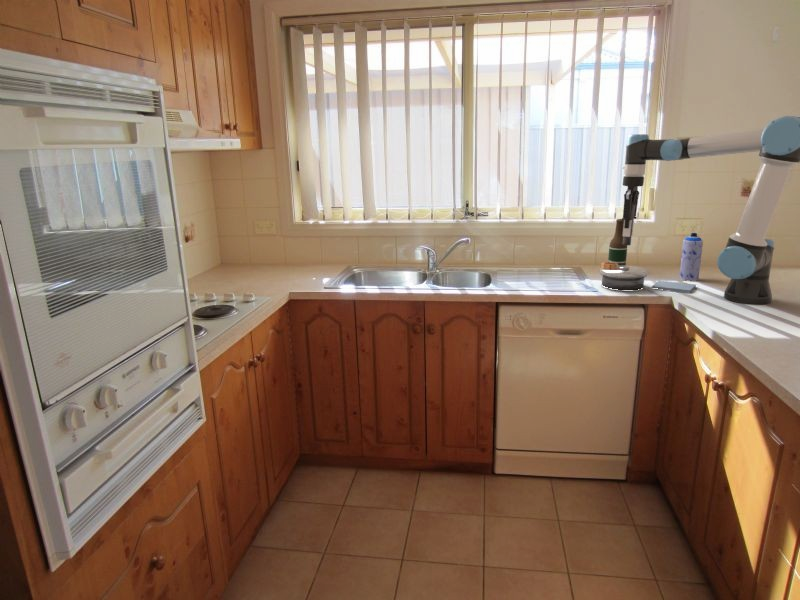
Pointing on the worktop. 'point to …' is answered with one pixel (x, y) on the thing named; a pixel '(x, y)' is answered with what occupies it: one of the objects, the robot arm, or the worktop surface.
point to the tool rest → (674, 286)
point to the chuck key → (628, 239)
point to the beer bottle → (618, 245)
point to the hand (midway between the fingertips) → (627, 235)
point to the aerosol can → (691, 257)
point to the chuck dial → (622, 271)
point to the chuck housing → (622, 283)
